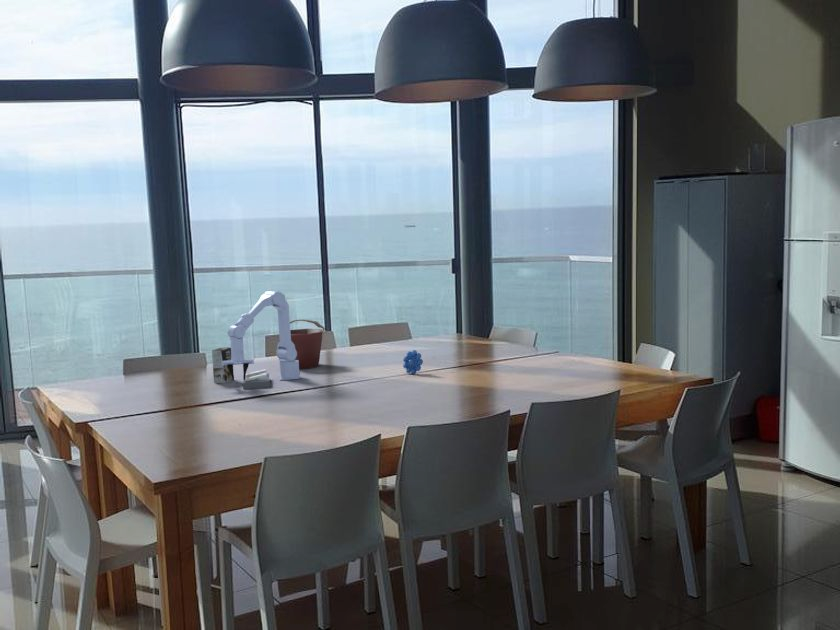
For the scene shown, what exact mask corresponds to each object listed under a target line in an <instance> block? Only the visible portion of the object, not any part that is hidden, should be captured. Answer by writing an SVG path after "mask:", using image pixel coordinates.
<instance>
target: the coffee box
mask: <svg viewBox="0 0 840 630" xmlns="http://www.w3.org/2000/svg"><path fill="white" fill-rule="evenodd" d="M211 353H212V355H211V357H212V375H213V383H214V384H226V383H228V382H231V381H233V380H232V376H231V373H230V371H229V369H228V367H227V365H224V366H222V361H228V360H232V358H231V347H219V348H216V349H212V350H211Z"/></svg>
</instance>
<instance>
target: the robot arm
mask: <svg viewBox="0 0 840 630" xmlns="http://www.w3.org/2000/svg"><path fill="white" fill-rule="evenodd" d="M271 306H272V307H273V308H274V309H276V310H277V319H278V321H277V322H278V323H277V324H278V335H279V336H278V337H279V341H278V343H277V349H276V352H275V353H276V357H277V358H278V361H279V373H280V375H279V381H287V380H289V381H290V380H301V378H300V375H301V372H300V369H299V361H298V360H295V358H296V356H297V351H296V349H295V345H294V344H293V342H292V341H291V332H290V330H291V324H290V322H291V320H290V308H289V307H290V306H289V303H288V301H287V300H286V295H285V294H284V293H282V292H281V291H273V290H266V291H264V292H263V294H261V296H260V298H259V299H258V300H257V302H256V303H255V304H254V306H253V307H251V309H250V311H248V313H247V312H246V313H242V314H241V315H240V318H239V319H238V320H237V321H236V322H234V324H233V325H230V327H229V328H228V330H227V332H226V333H227V334H228V335H227V336H228V337H229V341H230V348H231V358H232V360H228V361H222V366H224V365H227V367H228V369H229V371H230V373H231V376H232V380H231V381H235V375H234V365H236V366H237V365H238V366H239V365H242V370H243V372H242V373H243V376H242V377H243V379H244V380H245V375H246V374H247V371H248V368H249V365H254V364H255V360H254V359H253V358H252V359H251V358H250V359H249V358H247V359H245V352H244V349H245V348H244V337H245V335H246V331H247V330H248V329H249V328H250V327H251V325H252V324H254V322H255V317H257V316H258V314H260V313H261V312H262V311H263V310H264V309H265V307H266V308H267V307H271Z"/></svg>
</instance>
